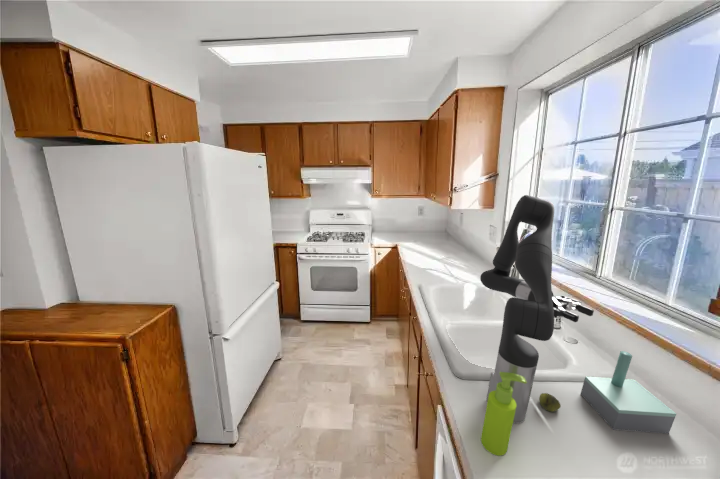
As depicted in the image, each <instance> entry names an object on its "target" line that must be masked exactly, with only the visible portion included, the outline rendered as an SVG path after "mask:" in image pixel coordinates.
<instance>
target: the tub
mask: <svg viewBox="0 0 720 479" xmlns="http://www.w3.org/2000/svg"><path fill="white" fill-rule="evenodd" d="M583 380H584V381H583V384H582V388H581V391H580V395H581V396H582V397H583V398H584V399H585V401H587V403H588V404H589V405H590V406H591V407H592V408H593V409H594V410H595V411H596V413H598V415H599V416H600V417H601V418H602V419H603V420H604V421H605V423H607V425H609V427H610V428H611V429H612V430H615V431H627V432H628V431H629V432H643V433H657V434H658V433H659V434H670V432H671V430H672V427H673V424H674V422H675V418H676V416H675V417H668V416H653V415H638V414H623V413H618V412H617V411H616V410H615V409H614V408H613V407H612V406H611V405H610V404H609V403H608V402H607V401H606V400H605V399H604V398H603V397H602V396H601V395H600V394H599V393H598V392H597V391H596V390H595V389H594V388H593V387H592V386H591V385H590V384H589V383H588V382H587V381H586V380H585V379H583Z"/></svg>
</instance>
